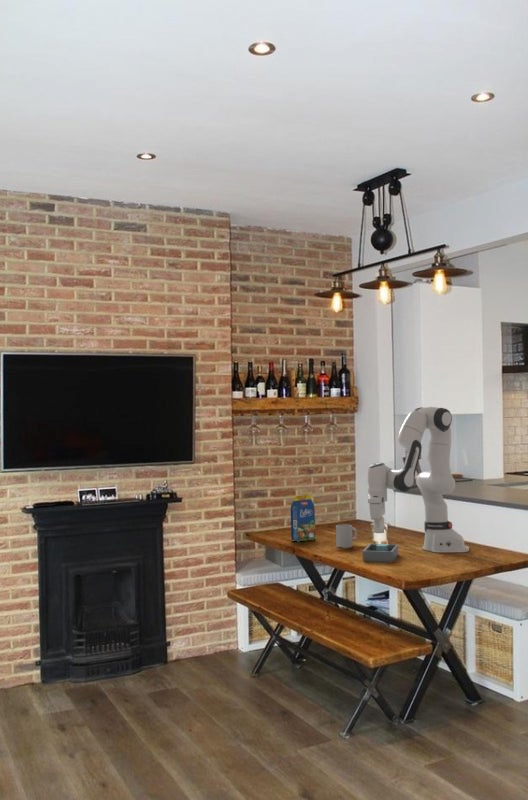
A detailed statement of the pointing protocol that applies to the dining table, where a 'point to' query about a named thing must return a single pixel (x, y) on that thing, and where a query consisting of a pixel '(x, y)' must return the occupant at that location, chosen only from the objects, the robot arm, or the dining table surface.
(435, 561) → the dining table surface
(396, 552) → the tote
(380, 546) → the block
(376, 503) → the robot arm
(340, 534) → the mug
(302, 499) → the blue food package
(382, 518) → the canister
